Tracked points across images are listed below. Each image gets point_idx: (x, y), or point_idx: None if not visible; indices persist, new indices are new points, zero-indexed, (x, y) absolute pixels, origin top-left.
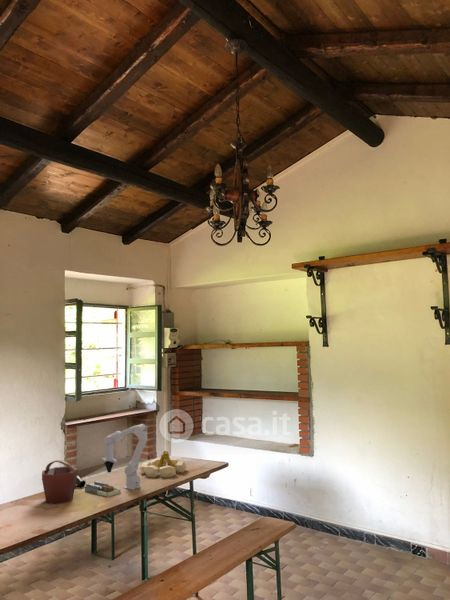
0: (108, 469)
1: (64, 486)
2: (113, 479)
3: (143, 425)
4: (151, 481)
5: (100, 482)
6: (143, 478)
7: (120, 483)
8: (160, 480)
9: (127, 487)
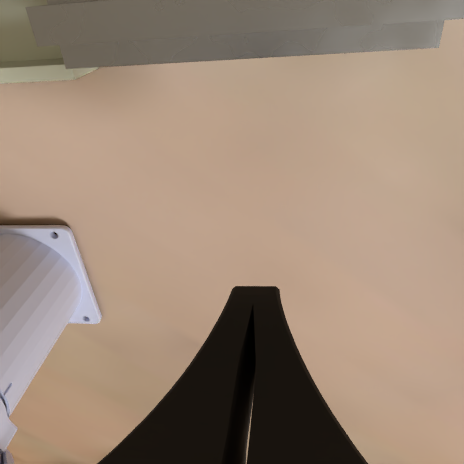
0: (213, 334)
1: None
2: (450, 357)
3: None
4: (89, 425)
5: (264, 17)
6: None
7: None
8: (67, 453)
9: (6, 236)
